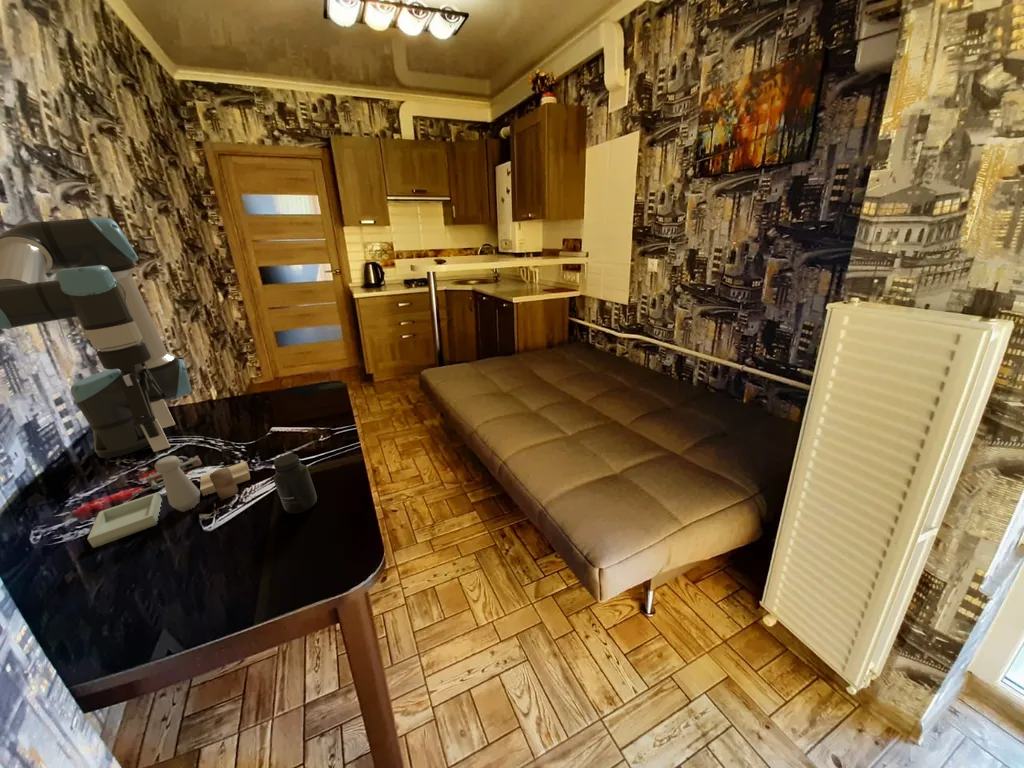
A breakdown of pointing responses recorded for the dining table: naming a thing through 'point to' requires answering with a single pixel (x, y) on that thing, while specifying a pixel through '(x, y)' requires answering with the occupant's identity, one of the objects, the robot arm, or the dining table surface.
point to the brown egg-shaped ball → (224, 483)
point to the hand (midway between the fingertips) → (165, 437)
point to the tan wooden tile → (238, 473)
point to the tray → (125, 519)
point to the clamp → (153, 480)
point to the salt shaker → (177, 484)
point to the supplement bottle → (294, 484)
